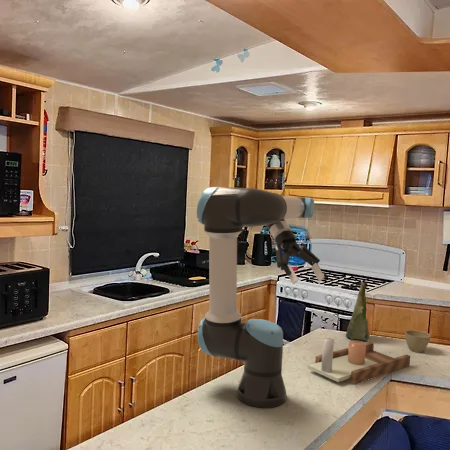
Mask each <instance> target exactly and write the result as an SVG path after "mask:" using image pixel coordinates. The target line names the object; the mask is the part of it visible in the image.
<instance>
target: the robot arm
mask: <svg viewBox="0 0 450 450" xmlns="http://www.w3.org/2000/svg"><path fill="white" fill-rule="evenodd" d="M196 205H197V206H196V218H197V221H198V222H199V224H201V225H203V229H204V232H205V233H206V235H208V237H209V239H208V240H209V241H208V242H209V243H208V244H209V246H208V248H209V251H208V252H209V254H208V256H209V257H208V258H209V259H208V261H209V267H208V269H209V271H208V272H209V273H208V275H209V276H208V277H209V284H208V285H209V288H208V289H209V297H208V298H209V303H208V304H209V307H208V308H209V309H208V311H207V312H206V313H205V314H204V317H203V318H202V319H201V320H200V322H199V323H198V329H197V335H196V336H197V342H198V346H199V349H200V350H201V351H202V352H203V353H204V354H205V355H209V356H212V357H215V358H217V357H218V358H222V359H227V360H234V361H240V362H243V365H244V366H243V373H242V376H241V378H240V381H239V383H238V386H237V390H236V391H237V393H236V395H237V397H236V398H237V399H238V400H239V401H240V402H241V403H243V404H245V405H247V406H250V407H254V408H262V409H264V408H265V409H267V408H276V407H279V406H281V405H283V404H284V403H285V402H286V401H287V390H286V386H285V382H284V378H283V375H282V372H283V371H282V370H283V368H282V367H283V355H284V354H283V353H284V352H283V351H284V343H285V342H284V331H283V328H282V327H281V326H280V325H279V324H277V323H275V322H272V321H270V320H267V319H263V318H262V319H261V318H259V319H258V318H250V319H247V320H246V322H242V314H241V313H240V312H239V311H238V310H237V298H238V296H237V293H238V292H237V291H238V289H237V285H238V283H237V281H238V277H237V276H238V275H237V274H238V266H237V265H238V236H239V235H240V234H241V233H242V232H243V228H245V227H246V228H255V227H262V226H266V227H267V229H268V232H270V235H271V236H272V238H273V240H274V242H275V244H276V245H275V247H274V248H273V249H274V251H275V255H276V256H275V257H276V258H275V259H276V267H277V268H279V269H280V270H281V271H284V273H285V274H286V275H287V277H288V279H289V280H290V282H291V283H292V285H296V283H297V282H298V281H299V278H298V276H297V275H296V273H295V271H294V269H293V267H292V266H291V264H289V260H290V257H292V256H293V257H297V258H300V259H302V261H304V262H305V263H306V264H308V265H310V266H311V267H310V268H311V270H312V273H314V275H315V276H316V278H317V280H318V282H321V281H323V279H325V274H323V272H322V270H321V267H320V266H319V264H318V263H320V261H321V260H320V258H318V257H317V256H316V255H315V254H314V253H313V252H312V251H311V250H310V249H309V248H308V247H307V246H306V245H305V244H304V243H303V242H301V243H300V244H298V243H297V242H296V241H297V239H296V235H295V234H294V233H293V231H292V228H291V227H290V226H289V224H288V222H287V221H286V219H295V218H298V219H299V218H301V219H311V218H312V217H313V216H314V213H315V208H316V207H315V206H316V205H315V200H314V199H313V197H306V196H302V197H301V196H286V195H285V196H283V195H282V194H279V193H276V192H271V191H267V190H263V189H258V188H252V187H250V188H249V187H232V186H231V187H229V186H210V187H207V188H205V189H204V190H203V192H201V195H200V196H199V199H198V201H197V204H196Z"/></svg>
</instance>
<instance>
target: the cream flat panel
mask: <svg viewBox="0 0 450 450" xmlns="http://www.w3.org/2000/svg"><path fill="white" fill-rule="evenodd" d="M334 341H335V340H334V339H333V338H331V337H324V338H322V351H321V353H322V354H321V355H322V362H319V363H315V362H314V363H312V364H308V365H307V369H308V370H310V371H313V372H315V373H317V374H319V375H322V376H324V377H326V378H328V379H330V380H332V381H335V382H337V383H339V382H343V381H346V379H349V378H351V371H354V370H357V369H360V368H364V367H367V366H370V365H374V364H377V363H376V362H373V361H371V360H368V359H366V358H365V364H363V365H354V364H351V363H349V362H348V355H345V356H341V357H337V358H333V352H334Z"/></svg>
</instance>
